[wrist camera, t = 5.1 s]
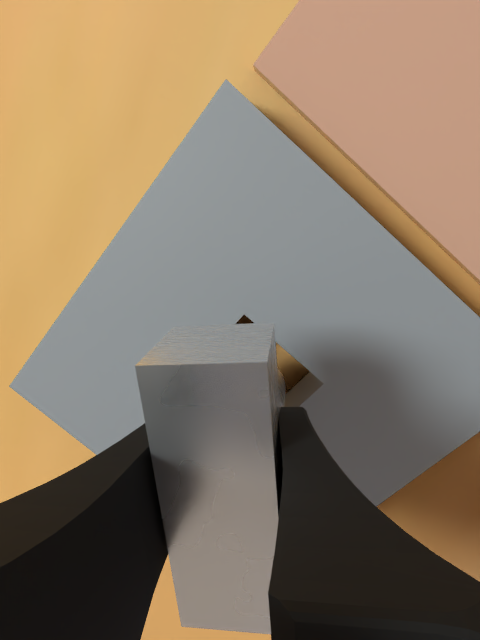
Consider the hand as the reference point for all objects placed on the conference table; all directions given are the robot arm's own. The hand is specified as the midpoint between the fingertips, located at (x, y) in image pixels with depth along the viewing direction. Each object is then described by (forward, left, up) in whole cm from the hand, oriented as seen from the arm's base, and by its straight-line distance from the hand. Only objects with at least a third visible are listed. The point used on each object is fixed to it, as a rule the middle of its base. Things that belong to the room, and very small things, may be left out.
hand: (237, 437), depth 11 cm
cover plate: (0, 0, -5) cm, 5 cm away
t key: (0, 0, -3) cm, 3 cm away
